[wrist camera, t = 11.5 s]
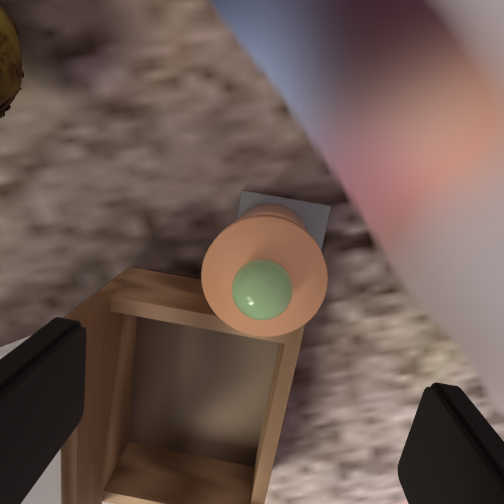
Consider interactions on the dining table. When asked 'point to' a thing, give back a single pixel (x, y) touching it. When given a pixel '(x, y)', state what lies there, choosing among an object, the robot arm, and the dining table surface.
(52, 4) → the dining table surface
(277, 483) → the dining table surface
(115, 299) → the open wooden box
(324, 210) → the slate tile
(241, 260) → the terracotta pot
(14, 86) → the potato
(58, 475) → the lid
